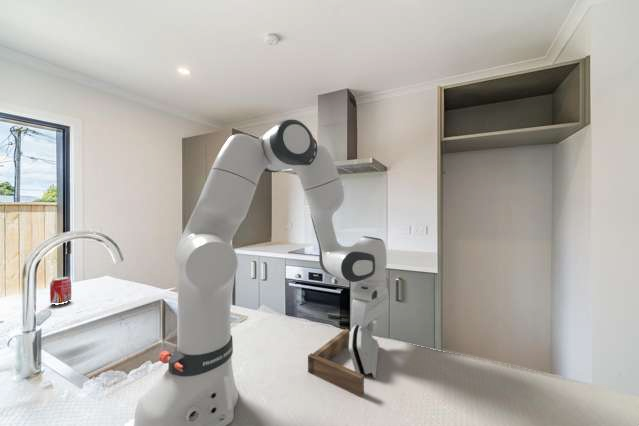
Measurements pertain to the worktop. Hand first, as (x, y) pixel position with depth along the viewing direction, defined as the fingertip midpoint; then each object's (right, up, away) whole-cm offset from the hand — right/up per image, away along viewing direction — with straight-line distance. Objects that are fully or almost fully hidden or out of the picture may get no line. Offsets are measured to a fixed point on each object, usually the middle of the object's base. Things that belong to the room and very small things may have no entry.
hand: (372, 329), depth 82 cm
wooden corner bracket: (-8, -6, -10) cm, 14 cm away
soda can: (-140, -6, +39) cm, 145 cm away
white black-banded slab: (-4, -6, -7) cm, 9 cm away
